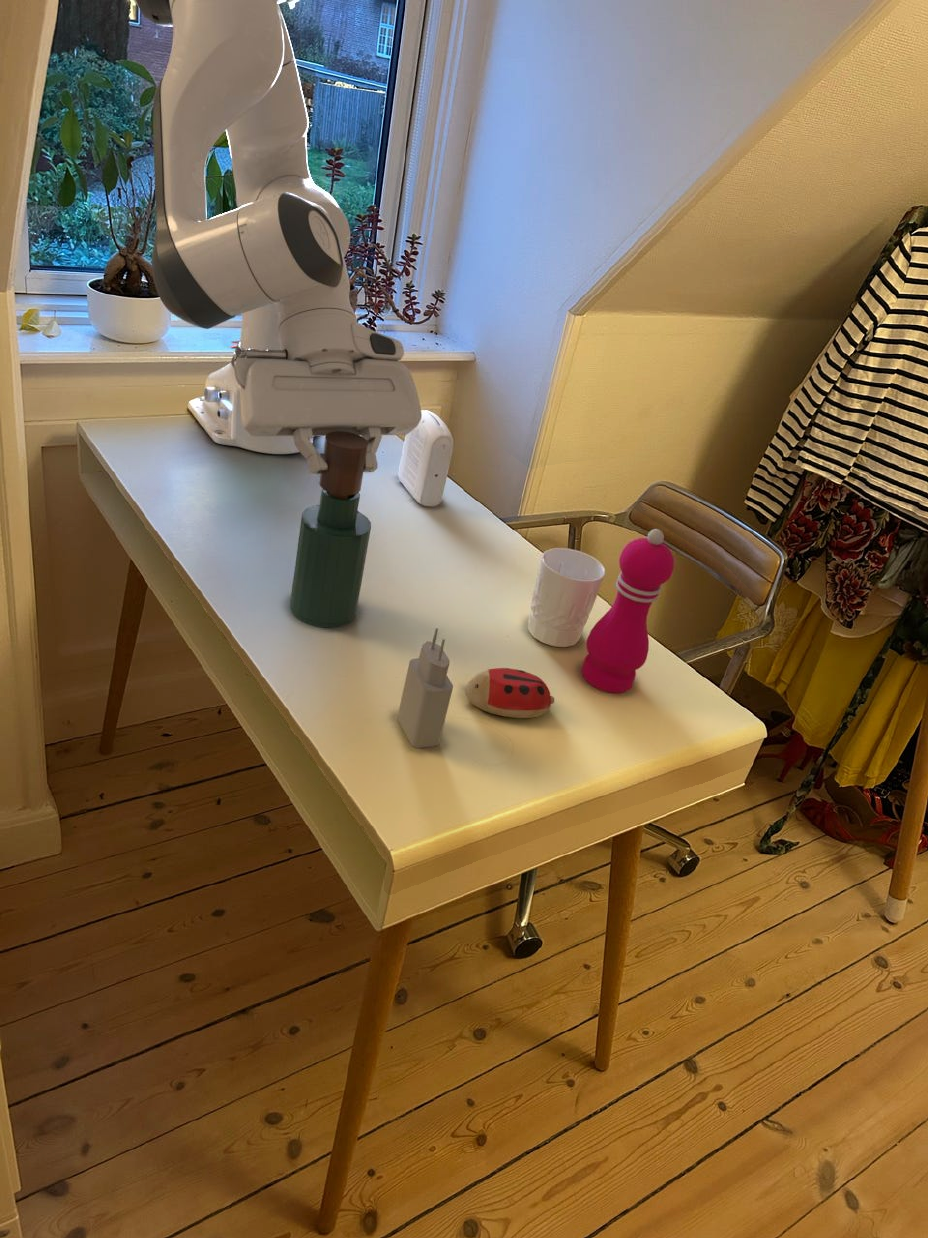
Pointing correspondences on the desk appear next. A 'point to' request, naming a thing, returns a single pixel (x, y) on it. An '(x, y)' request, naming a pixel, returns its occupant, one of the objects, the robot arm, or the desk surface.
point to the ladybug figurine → (509, 693)
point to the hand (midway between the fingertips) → (344, 471)
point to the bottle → (330, 561)
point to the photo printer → (426, 459)
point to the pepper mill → (628, 616)
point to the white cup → (564, 596)
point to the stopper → (343, 463)
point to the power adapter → (426, 696)
